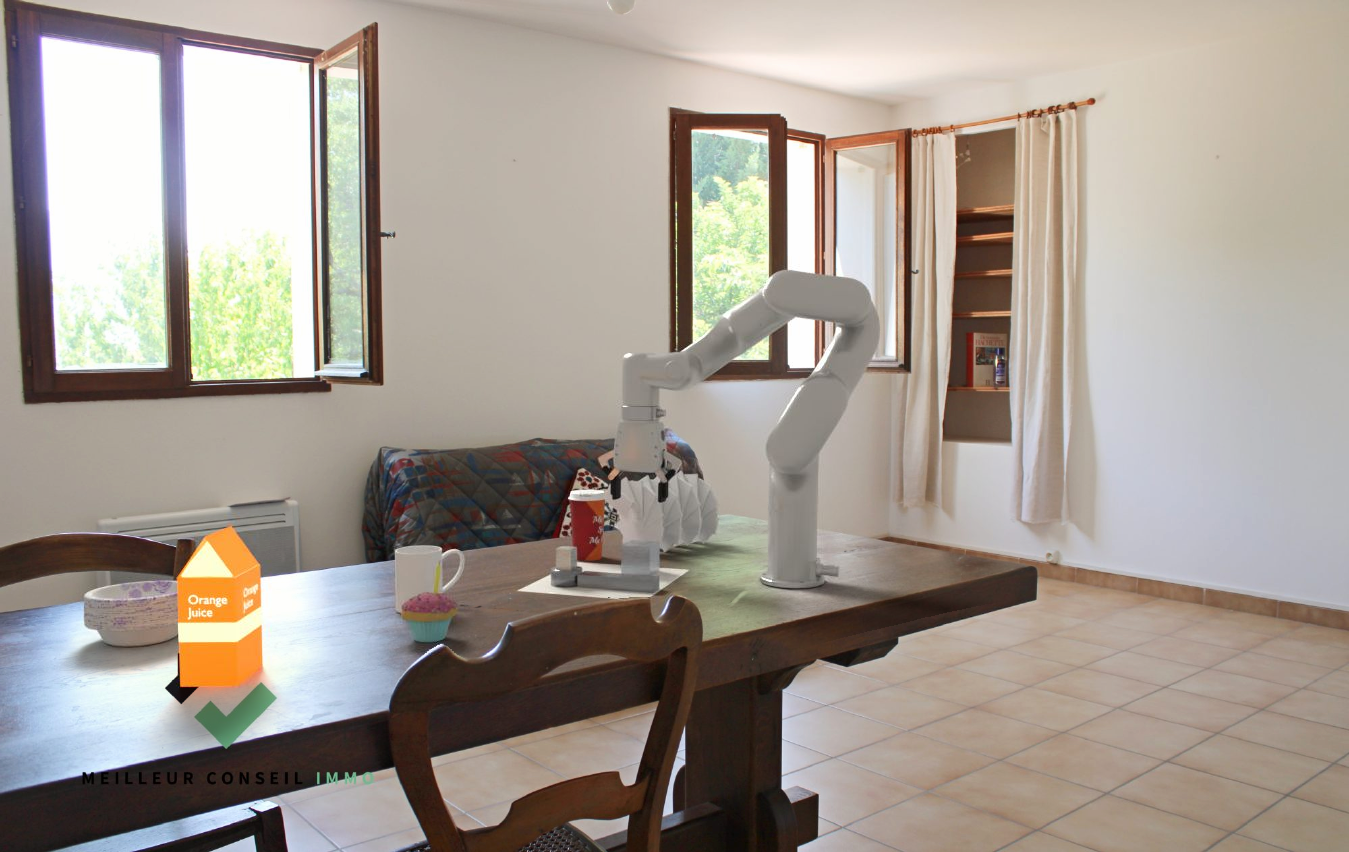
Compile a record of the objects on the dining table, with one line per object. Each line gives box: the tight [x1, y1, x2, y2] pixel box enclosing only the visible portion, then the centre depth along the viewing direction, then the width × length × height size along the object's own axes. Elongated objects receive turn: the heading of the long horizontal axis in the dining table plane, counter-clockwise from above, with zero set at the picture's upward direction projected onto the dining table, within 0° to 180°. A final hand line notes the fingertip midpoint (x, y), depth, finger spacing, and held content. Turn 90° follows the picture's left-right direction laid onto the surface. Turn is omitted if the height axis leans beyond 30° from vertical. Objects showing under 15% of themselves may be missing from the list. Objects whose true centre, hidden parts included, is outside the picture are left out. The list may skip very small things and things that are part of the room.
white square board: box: [517, 561, 690, 600], centre depth 194 cm, size 25×28×1 cm
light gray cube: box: [620, 540, 661, 576], centre depth 201 cm, size 6×6×6 cm
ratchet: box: [550, 545, 659, 593], centre depth 188 cm, size 21×6×7 cm, turn 73°
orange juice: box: [176, 525, 264, 688], centre depth 136 cm, size 8×9×20 cm
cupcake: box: [400, 560, 458, 643], centre depth 155 cm, size 9×8×12 cm
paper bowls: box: [83, 580, 179, 648], centre depth 154 cm, size 15×15×8 cm
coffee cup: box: [567, 489, 606, 562], centre depth 216 cm, size 8×8×15 cm
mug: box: [394, 544, 466, 614], centre depth 174 cm, size 12×8×10 cm, turn 124°
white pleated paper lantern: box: [605, 470, 720, 553], centre depth 229 cm, size 18×18×25 cm
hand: (639, 500), depth 200 cm, fingers open, 9 cm apart
